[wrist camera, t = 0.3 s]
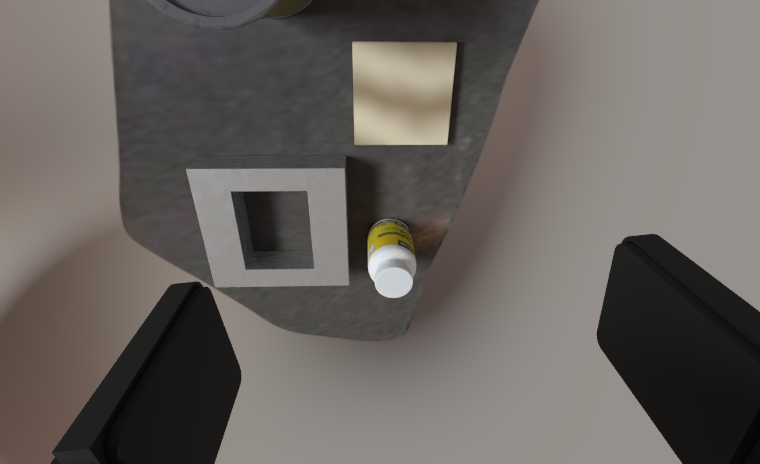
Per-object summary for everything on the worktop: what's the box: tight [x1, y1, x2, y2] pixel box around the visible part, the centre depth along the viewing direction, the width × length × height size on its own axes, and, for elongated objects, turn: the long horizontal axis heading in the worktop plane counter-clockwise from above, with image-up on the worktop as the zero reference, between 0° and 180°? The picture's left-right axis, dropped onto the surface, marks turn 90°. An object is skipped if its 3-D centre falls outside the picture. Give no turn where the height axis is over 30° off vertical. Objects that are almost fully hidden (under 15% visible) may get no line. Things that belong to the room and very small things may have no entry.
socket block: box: [186, 155, 350, 287], centre depth 46 cm, size 15×16×4 cm
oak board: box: [352, 41, 457, 145], centre depth 41 cm, size 10×10×1 cm
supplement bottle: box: [368, 219, 416, 298], centre depth 46 cm, size 5×5×10 cm
